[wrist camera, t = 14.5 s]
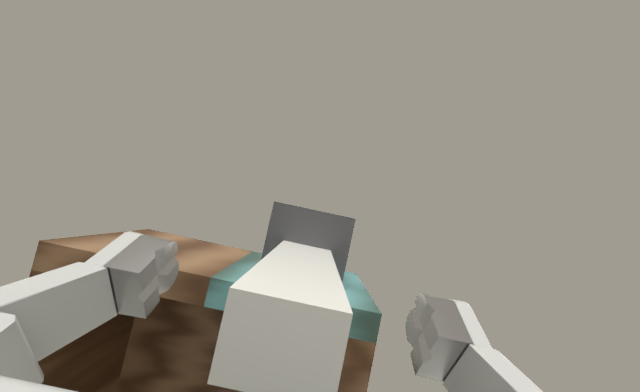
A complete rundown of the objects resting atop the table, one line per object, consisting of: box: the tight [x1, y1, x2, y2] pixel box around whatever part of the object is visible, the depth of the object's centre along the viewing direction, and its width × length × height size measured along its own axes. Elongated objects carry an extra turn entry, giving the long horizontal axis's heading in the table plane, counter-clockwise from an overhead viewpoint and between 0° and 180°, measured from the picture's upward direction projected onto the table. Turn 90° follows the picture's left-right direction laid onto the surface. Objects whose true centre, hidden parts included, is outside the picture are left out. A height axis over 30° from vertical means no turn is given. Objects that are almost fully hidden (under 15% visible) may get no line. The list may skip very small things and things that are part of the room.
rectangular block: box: [207, 202, 355, 392], centre depth 18 cm, size 7×20×6 cm, turn 0°
